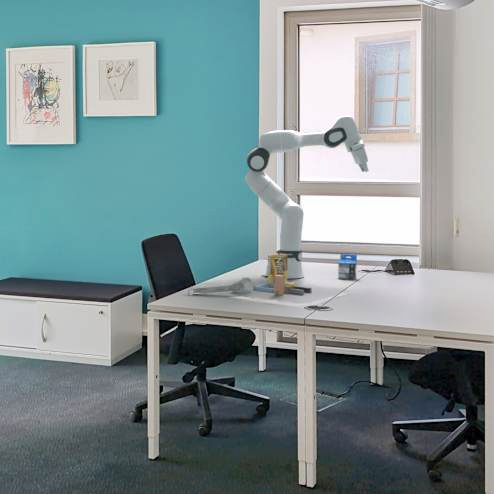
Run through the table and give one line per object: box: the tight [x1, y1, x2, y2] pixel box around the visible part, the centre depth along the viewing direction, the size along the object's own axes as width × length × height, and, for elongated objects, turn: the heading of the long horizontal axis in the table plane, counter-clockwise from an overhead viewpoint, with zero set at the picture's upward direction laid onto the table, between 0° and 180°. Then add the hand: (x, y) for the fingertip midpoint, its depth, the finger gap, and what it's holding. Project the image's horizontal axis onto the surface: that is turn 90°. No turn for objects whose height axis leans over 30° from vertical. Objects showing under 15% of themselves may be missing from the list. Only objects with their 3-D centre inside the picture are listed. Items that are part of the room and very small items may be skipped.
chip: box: [284, 281, 297, 289], centre depth 323 cm, size 4×4×4 cm
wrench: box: [187, 277, 254, 295], centre depth 323 cm, size 8×2×30 cm
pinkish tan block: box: [273, 275, 285, 296], centre depth 316 cm, size 3×4×10 cm
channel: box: [284, 285, 313, 296], centre depth 322 cm, size 14×10×4 cm
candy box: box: [267, 253, 288, 284], centre depth 345 cm, size 9×4×15 cm, turn 110°
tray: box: [252, 282, 274, 293], centre depth 329 cm, size 11×12×3 cm
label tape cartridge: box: [337, 253, 358, 280], centre depth 368 cm, size 9×4×12 cm, turn 68°
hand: (365, 171), depth 361 cm, fingers open, 8 cm apart
